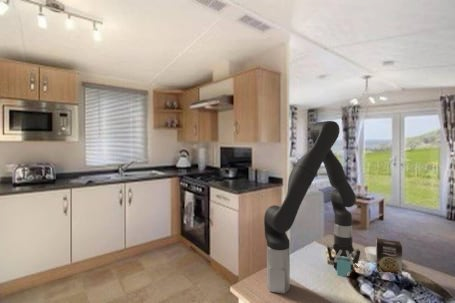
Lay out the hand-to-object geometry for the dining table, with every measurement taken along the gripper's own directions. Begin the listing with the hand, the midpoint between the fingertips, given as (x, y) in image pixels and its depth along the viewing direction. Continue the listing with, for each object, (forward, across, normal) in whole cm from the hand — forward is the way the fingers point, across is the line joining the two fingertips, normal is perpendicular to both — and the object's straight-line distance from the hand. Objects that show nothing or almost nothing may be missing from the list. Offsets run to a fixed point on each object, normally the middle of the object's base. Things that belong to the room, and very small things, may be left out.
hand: (343, 270), depth 109 cm
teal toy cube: (+1, 0, 0) cm, 1 cm away
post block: (+1, 0, +15) cm, 15 cm away
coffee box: (+2, +18, +1) cm, 18 cm away
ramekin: (+2, +18, +17) cm, 25 cm away
